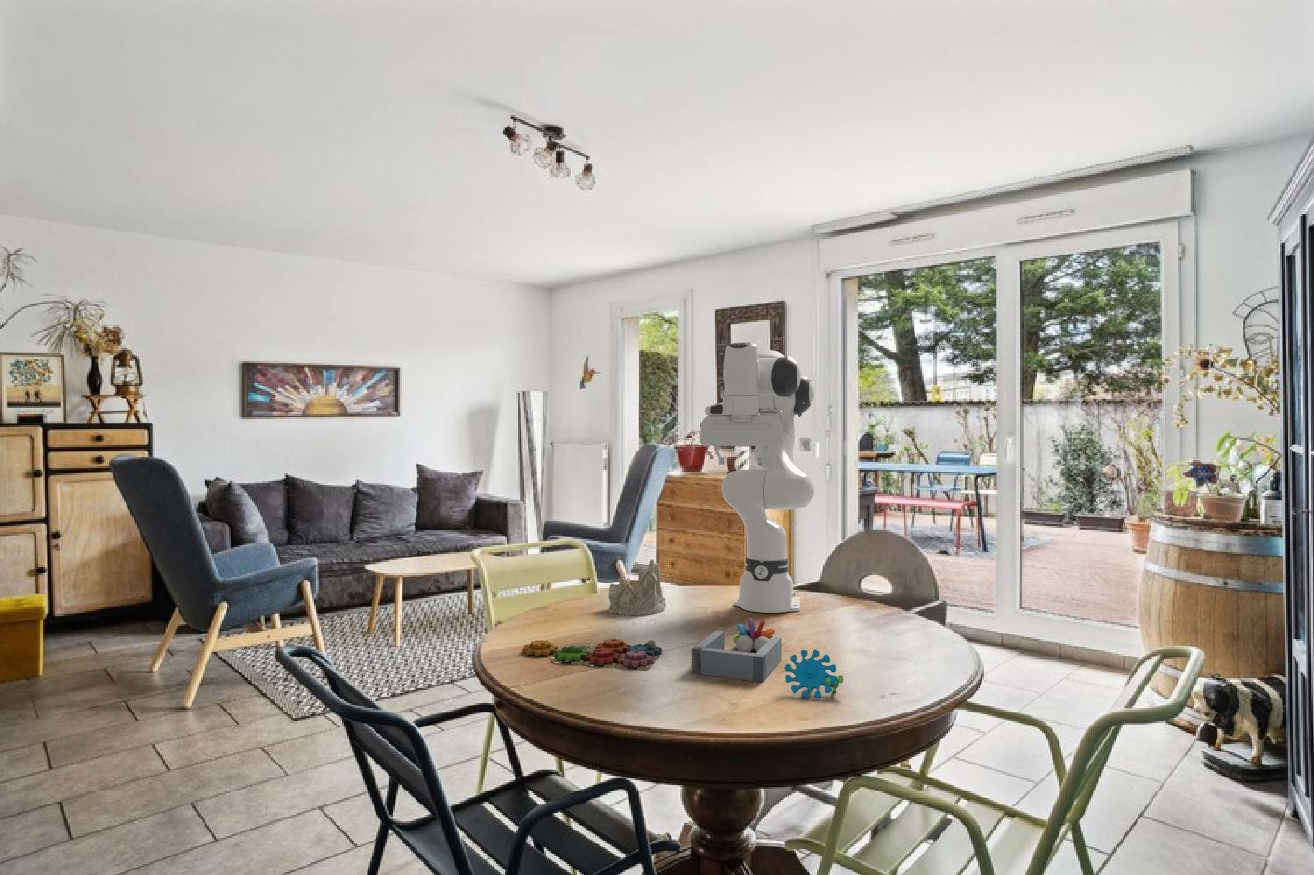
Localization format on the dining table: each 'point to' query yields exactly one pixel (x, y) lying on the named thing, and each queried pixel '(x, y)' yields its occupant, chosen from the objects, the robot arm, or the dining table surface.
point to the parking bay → (735, 659)
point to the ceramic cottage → (638, 594)
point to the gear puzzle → (600, 653)
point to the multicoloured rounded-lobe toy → (752, 637)
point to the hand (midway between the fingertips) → (741, 464)
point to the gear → (812, 674)
